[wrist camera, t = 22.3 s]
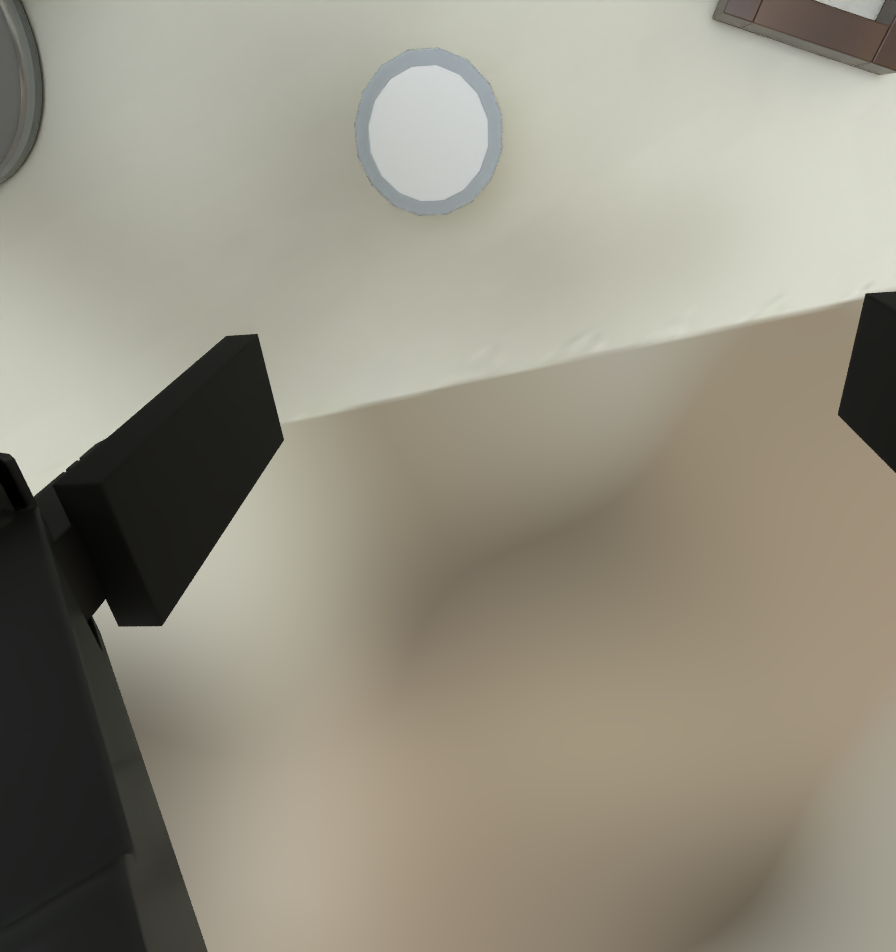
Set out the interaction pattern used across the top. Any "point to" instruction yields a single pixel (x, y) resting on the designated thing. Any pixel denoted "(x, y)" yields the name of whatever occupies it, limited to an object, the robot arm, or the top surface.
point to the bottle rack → (820, 29)
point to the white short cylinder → (428, 131)
